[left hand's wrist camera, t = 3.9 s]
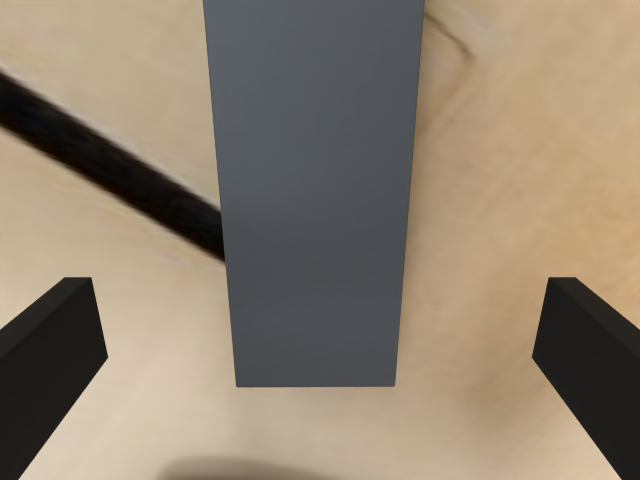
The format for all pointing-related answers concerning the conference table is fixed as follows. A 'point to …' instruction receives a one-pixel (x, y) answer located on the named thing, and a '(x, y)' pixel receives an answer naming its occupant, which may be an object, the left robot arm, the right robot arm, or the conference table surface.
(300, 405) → the conference table surface
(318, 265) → the bar
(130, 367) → the conference table surface
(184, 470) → the conference table surface
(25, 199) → the conference table surface
